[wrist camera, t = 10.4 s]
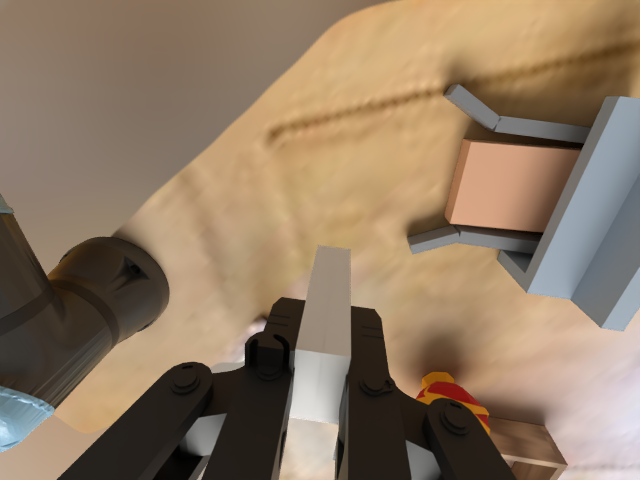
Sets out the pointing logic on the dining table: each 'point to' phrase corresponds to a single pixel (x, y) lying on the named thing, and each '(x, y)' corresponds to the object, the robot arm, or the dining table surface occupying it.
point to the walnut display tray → (527, 449)
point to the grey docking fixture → (572, 215)
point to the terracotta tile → (508, 184)
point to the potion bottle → (450, 394)
